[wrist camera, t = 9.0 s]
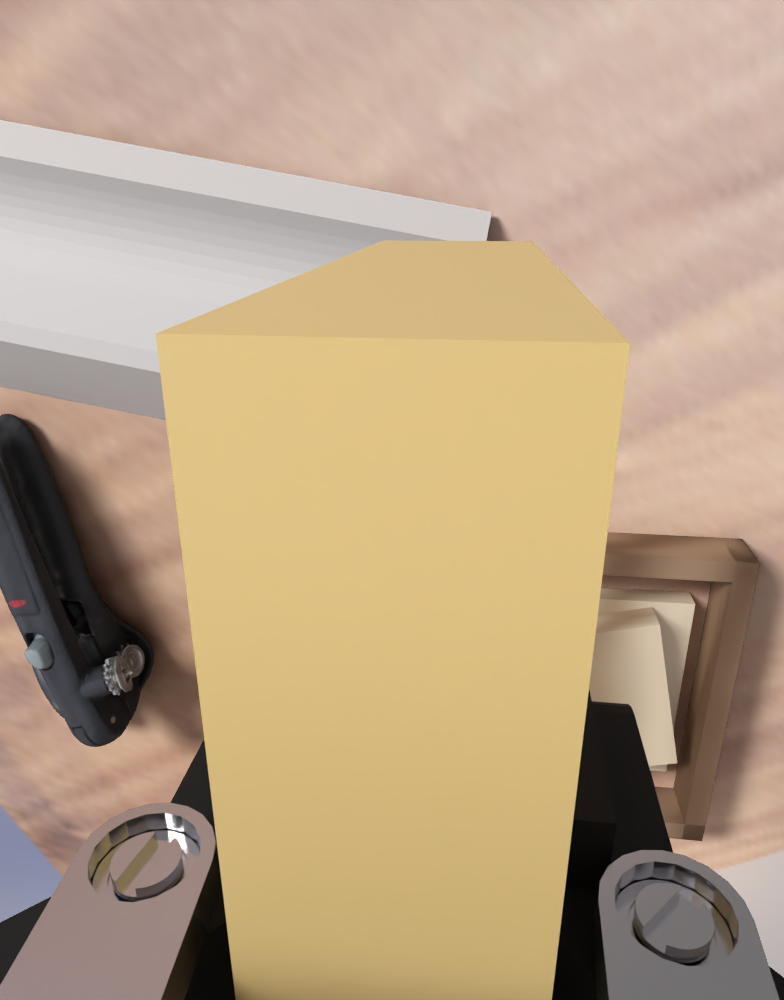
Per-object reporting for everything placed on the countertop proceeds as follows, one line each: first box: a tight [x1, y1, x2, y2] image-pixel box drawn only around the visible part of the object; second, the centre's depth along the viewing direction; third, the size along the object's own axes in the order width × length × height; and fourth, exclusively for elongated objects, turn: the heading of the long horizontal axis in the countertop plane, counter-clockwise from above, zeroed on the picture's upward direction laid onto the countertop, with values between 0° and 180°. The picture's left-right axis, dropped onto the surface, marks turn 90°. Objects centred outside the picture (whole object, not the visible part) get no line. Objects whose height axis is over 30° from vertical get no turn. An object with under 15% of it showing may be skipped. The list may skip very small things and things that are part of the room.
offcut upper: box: [589, 607, 677, 766], centre depth 36 cm, size 6×8×2 cm
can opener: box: [0, 414, 153, 747], centre depth 37 cm, size 18×7×6 cm, turn 12°
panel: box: [156, 240, 630, 1000], centre depth 10 cm, size 2×12×9 cm, turn 0°
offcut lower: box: [598, 588, 695, 772], centre depth 38 cm, size 8×10×2 cm
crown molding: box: [0, 120, 492, 420], centre depth 33 cm, size 31×12×4 cm, turn 80°
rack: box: [603, 533, 760, 841], centre depth 36 cm, size 24×16×7 cm, turn 90°
